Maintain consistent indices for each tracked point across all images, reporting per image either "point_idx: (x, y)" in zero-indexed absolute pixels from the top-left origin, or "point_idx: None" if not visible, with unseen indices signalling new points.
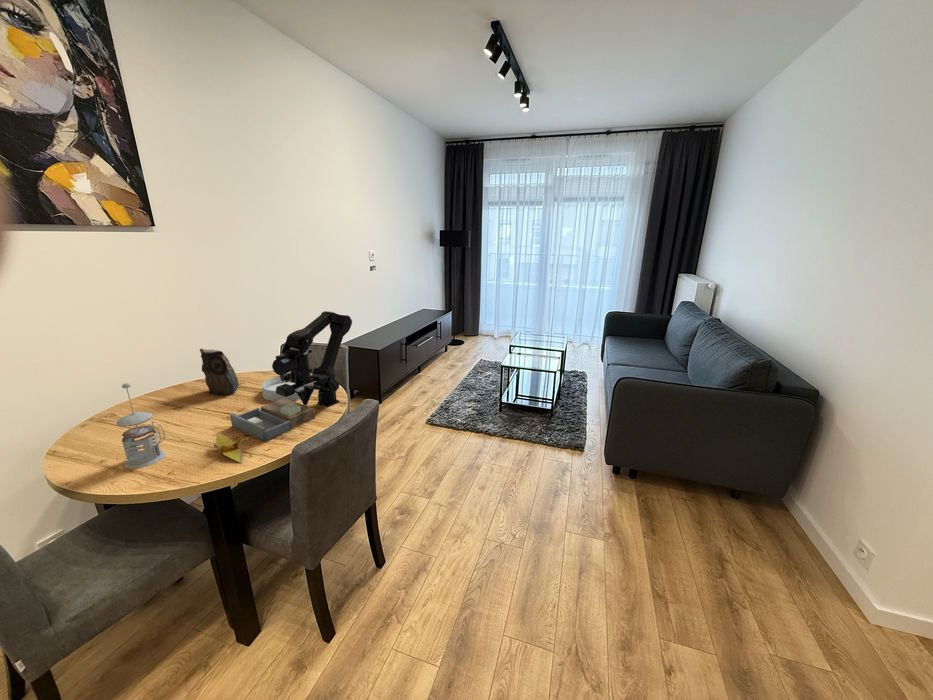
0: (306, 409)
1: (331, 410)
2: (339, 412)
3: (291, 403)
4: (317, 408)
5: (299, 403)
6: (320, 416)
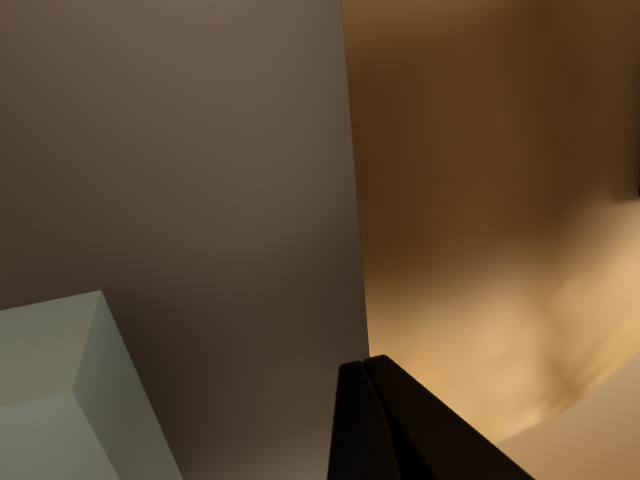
0: (283, 475)
1: (578, 310)
2: (572, 394)
3: (42, 406)
4: (552, 135)
5: (345, 156)
6: (404, 368)
